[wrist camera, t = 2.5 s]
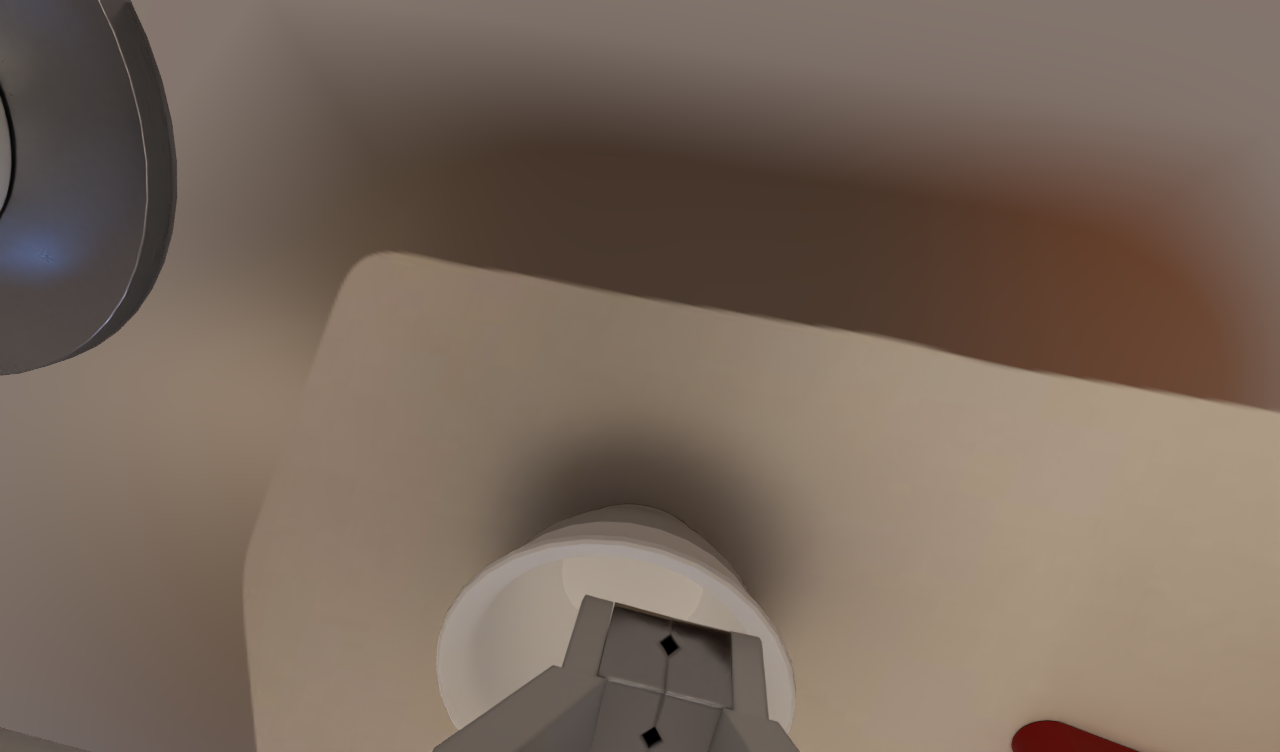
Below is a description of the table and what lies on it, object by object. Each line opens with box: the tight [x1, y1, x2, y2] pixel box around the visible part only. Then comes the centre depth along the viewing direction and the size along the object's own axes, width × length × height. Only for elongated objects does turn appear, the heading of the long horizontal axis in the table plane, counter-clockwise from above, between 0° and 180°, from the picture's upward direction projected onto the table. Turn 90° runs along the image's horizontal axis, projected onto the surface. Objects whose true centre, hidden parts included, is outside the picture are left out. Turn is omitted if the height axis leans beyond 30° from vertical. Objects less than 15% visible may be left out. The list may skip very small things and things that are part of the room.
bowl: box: [436, 504, 796, 735], centre depth 32 cm, size 16×16×9 cm
